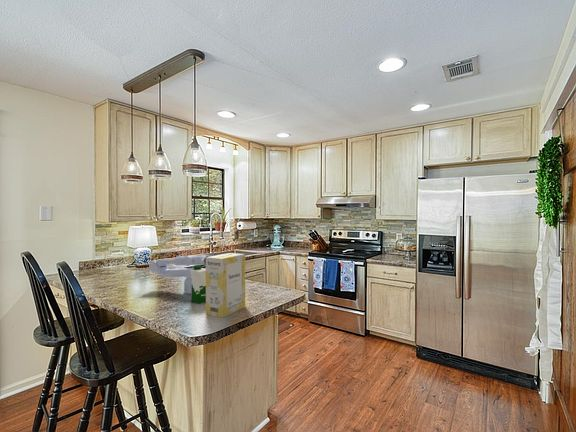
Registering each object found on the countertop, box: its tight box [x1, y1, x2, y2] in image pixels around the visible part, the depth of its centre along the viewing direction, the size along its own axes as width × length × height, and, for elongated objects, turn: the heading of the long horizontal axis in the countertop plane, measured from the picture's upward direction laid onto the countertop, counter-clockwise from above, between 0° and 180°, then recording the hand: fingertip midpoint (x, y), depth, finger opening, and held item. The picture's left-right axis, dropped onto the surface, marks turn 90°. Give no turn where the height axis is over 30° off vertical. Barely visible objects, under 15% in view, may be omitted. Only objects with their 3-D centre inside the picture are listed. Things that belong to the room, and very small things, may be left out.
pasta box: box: [205, 252, 246, 318], centre depth 151 cm, size 18×10×28 cm, turn 152°
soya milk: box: [190, 265, 206, 305], centre depth 167 cm, size 9×9×20 cm
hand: (220, 259), depth 180 cm, fingers open, 7 cm apart
